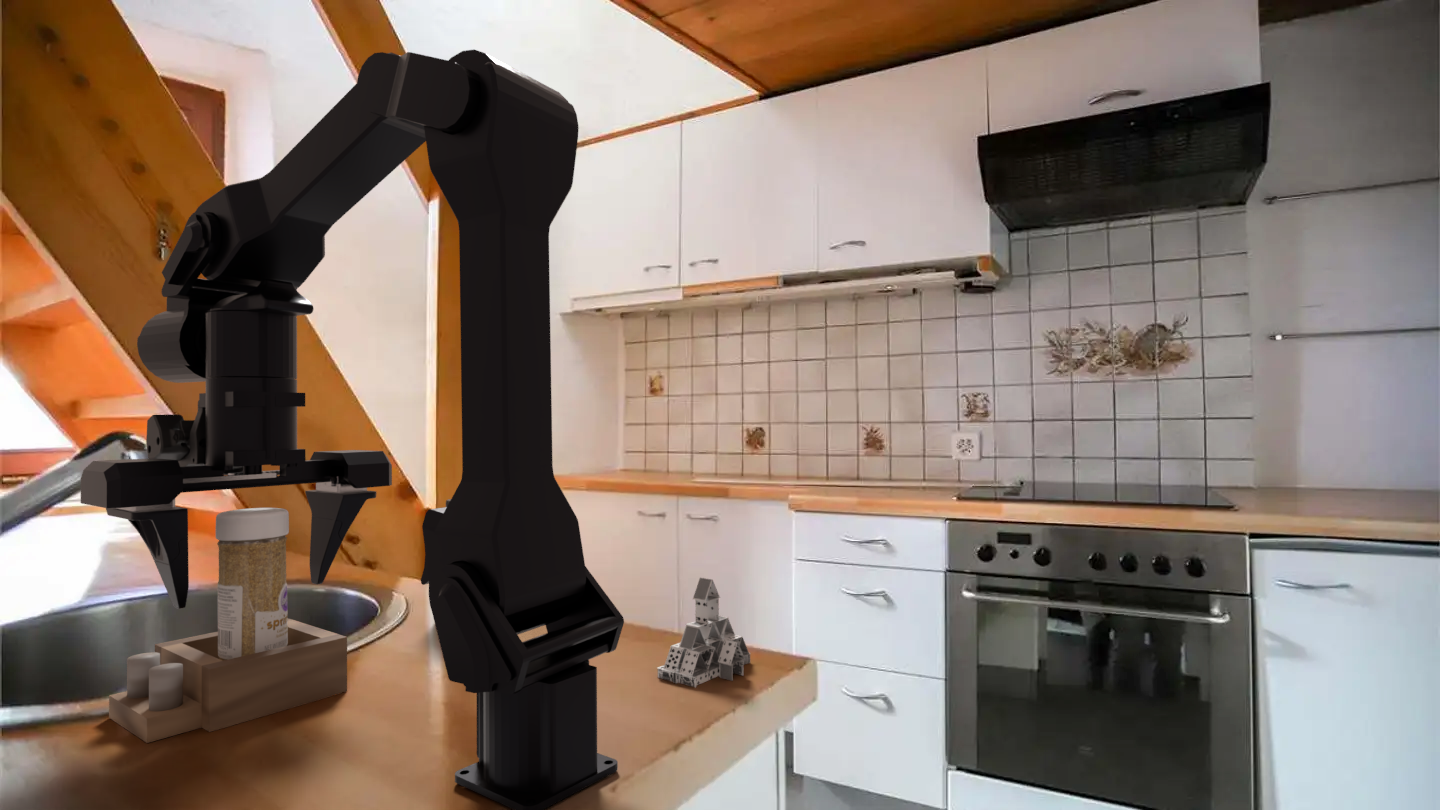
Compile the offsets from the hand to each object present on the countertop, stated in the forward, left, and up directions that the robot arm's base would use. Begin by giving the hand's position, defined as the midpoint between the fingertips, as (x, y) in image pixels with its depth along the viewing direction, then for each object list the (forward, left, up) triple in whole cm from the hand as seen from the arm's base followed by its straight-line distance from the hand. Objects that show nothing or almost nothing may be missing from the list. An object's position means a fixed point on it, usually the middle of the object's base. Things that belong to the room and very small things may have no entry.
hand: (252, 594), depth 57 cm
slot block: (0, 0, -7) cm, 7 cm away
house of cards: (-26, -22, -8) cm, 35 cm away
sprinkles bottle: (0, 0, -8) cm, 8 cm away
